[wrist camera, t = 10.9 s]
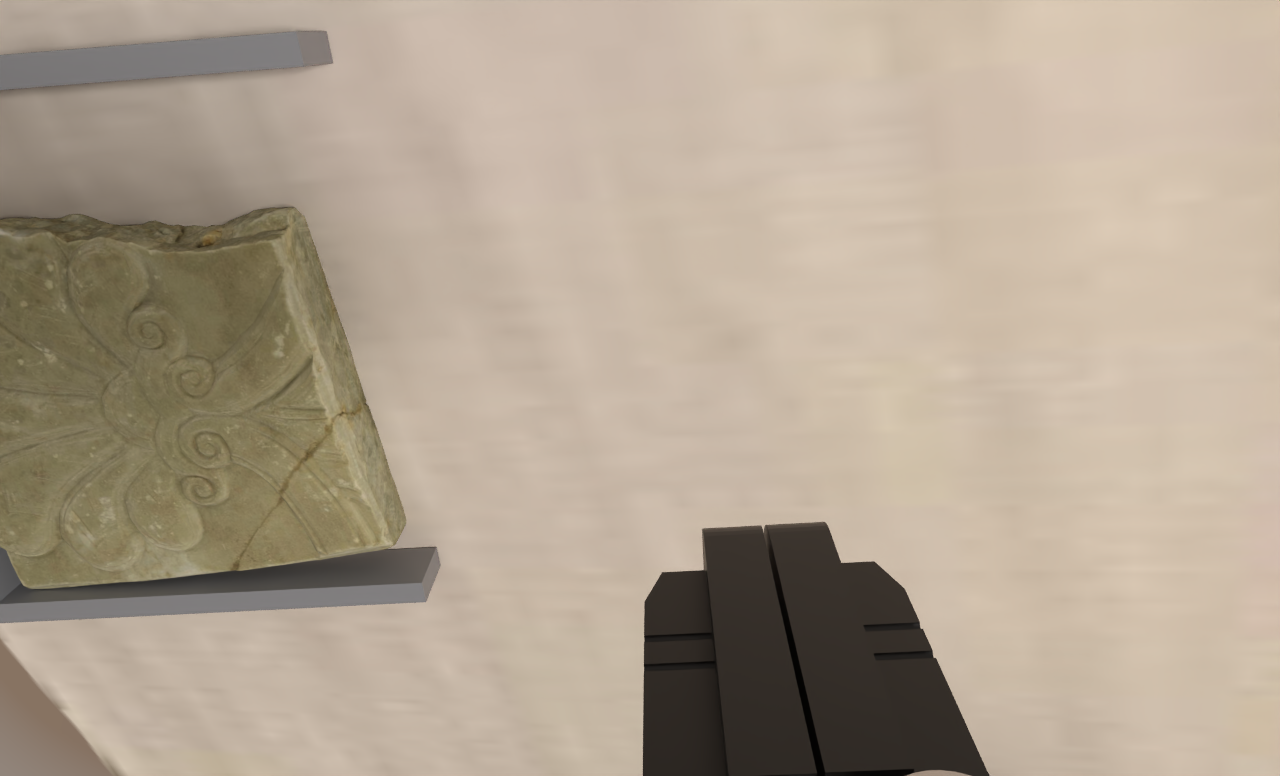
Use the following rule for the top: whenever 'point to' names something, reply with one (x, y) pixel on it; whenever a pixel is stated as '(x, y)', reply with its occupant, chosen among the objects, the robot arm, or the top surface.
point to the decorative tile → (179, 404)
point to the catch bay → (231, 591)
